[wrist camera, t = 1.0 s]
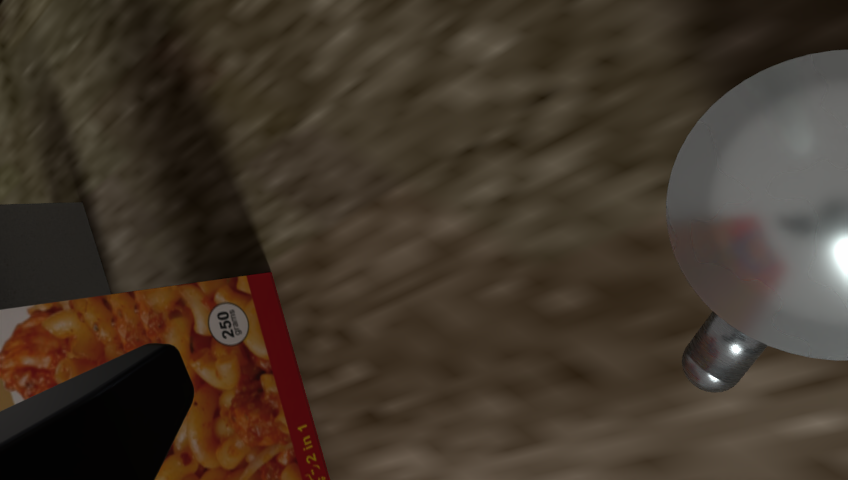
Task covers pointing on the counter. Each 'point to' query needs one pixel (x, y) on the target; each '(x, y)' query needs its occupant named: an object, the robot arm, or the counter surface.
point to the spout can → (766, 219)
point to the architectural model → (47, 255)
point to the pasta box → (205, 362)
